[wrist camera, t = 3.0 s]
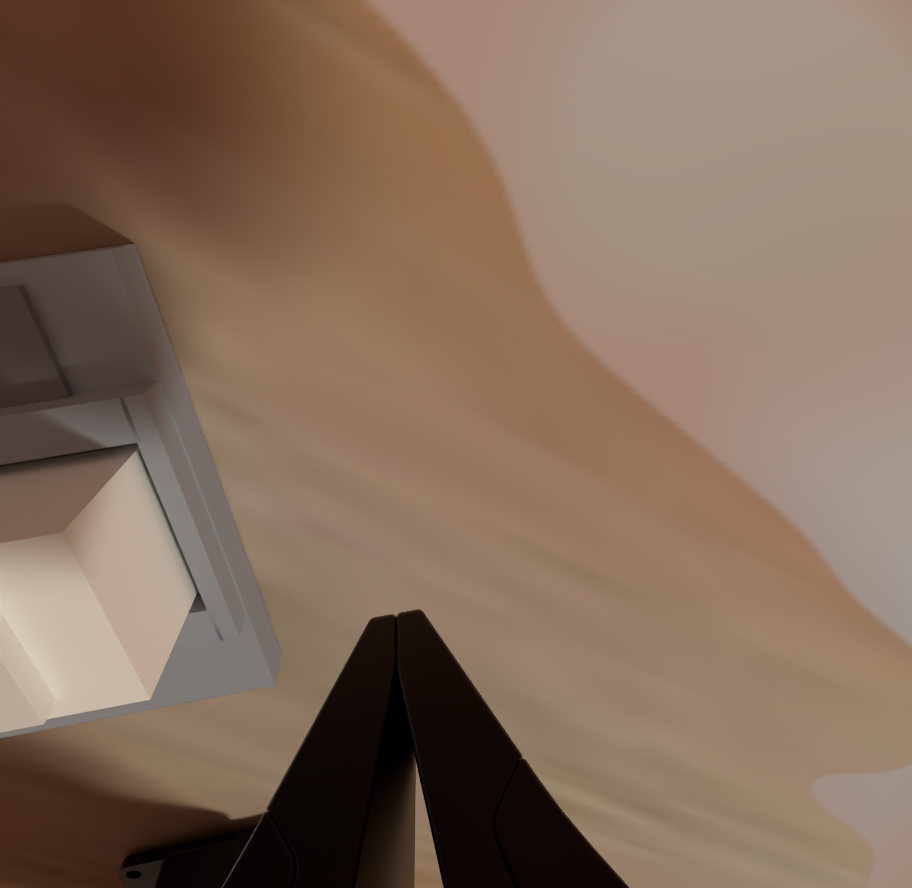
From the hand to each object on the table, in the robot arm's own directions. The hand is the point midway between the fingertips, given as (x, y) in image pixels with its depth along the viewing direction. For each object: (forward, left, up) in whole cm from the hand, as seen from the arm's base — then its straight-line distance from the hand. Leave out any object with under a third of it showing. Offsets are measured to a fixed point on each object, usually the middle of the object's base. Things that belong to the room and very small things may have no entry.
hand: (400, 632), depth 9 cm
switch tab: (0, +7, -5) cm, 9 cm away
